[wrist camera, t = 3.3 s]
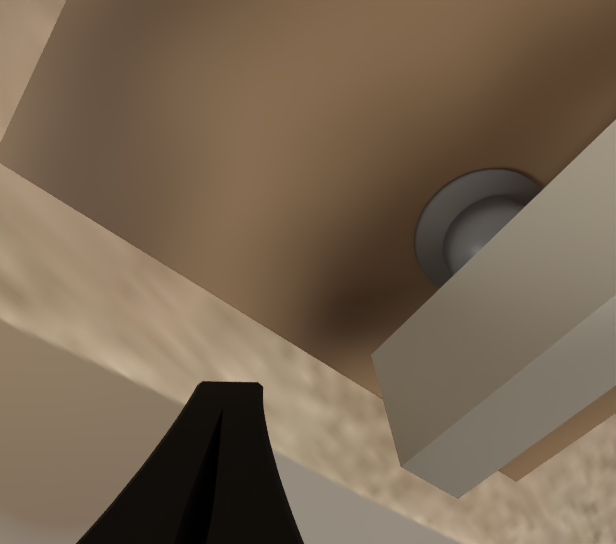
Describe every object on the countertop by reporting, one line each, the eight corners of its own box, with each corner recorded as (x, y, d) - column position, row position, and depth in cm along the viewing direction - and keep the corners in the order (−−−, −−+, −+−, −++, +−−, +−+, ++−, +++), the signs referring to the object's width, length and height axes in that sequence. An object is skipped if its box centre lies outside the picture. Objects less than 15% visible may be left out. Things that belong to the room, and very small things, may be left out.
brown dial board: (937, 138, 12) (1018, 148, 11) (502, 455, 17) (520, 488, 16) (465, -764, 6) (515, -1004, 5) (21, 149, 11) (-15, 161, 10)
